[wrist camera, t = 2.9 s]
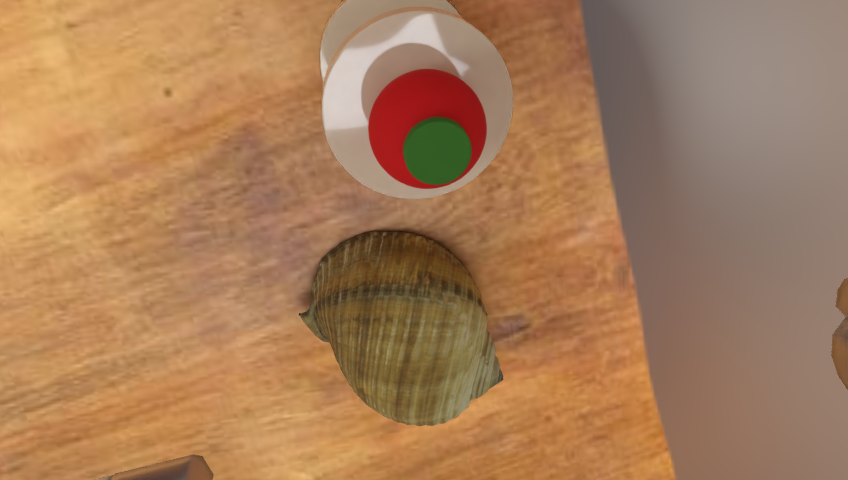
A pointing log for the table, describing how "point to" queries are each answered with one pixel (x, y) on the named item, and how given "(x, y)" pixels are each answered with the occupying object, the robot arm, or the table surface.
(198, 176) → the table surface
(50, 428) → the table surface
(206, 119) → the table surface
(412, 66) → the stand
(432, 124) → the strawberry
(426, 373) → the seashell
